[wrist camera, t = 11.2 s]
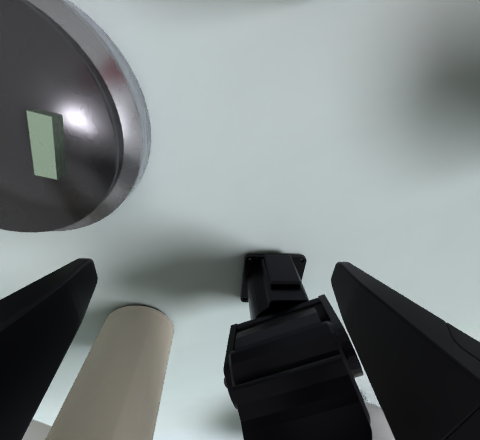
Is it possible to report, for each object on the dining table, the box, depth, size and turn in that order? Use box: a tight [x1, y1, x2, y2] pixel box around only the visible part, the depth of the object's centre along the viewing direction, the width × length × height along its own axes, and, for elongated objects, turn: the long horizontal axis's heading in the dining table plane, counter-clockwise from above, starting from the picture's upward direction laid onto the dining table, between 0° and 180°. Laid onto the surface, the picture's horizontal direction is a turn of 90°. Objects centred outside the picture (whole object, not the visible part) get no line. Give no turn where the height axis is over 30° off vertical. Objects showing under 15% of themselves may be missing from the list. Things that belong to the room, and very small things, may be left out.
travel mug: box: [46, 306, 174, 440], centre depth 21 cm, size 8×8×18 cm
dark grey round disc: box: [27, 0, 151, 231], centre depth 16 cm, size 16×16×3 cm
